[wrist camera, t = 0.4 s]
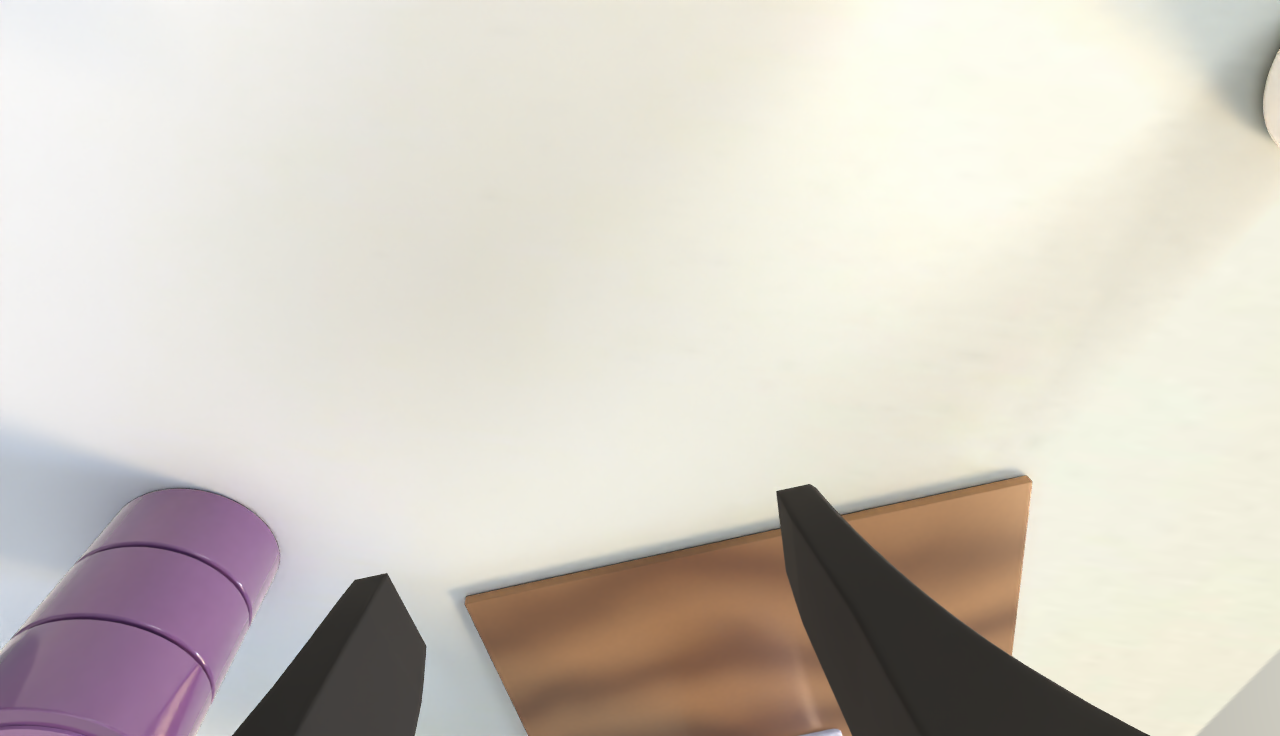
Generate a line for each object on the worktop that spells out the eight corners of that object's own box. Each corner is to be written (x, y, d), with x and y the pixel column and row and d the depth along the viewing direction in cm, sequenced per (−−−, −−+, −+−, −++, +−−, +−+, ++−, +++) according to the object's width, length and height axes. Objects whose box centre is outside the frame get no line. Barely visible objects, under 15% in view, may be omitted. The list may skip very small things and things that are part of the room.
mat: (1001, 696, 33) (1006, 704, 32) (558, 789, 33) (558, 798, 33) (1026, 474, 26) (1033, 481, 25) (465, 596, 26) (463, 604, 26)
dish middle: (280, 645, 23) (246, 720, 21) (125, 678, 23) (75, 757, 21) (196, 528, 20) (147, 599, 18) (22, 566, 20) (-50, 642, 18)
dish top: (246, 720, 21) (205, 815, 18) (75, 757, 21) (12, 855, 18) (147, 599, 18) (83, 692, 15) (-50, 642, 18) (-142, 741, 16)
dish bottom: (306, 583, 25) (280, 645, 23) (166, 614, 25) (125, 678, 23) (234, 472, 23) (196, 528, 20) (78, 506, 23) (22, 566, 20)
